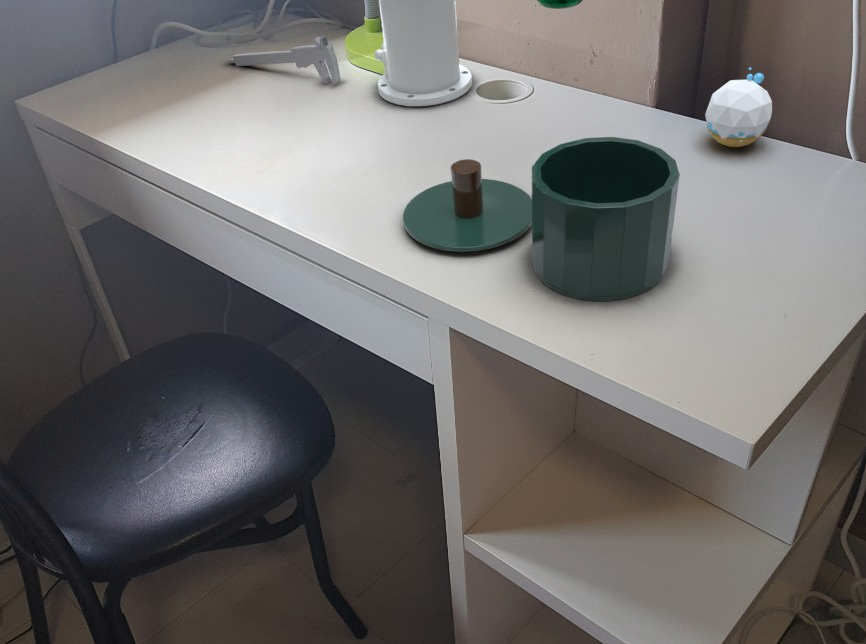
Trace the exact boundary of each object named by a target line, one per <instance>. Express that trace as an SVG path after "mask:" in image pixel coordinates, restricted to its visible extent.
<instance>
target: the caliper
mask: <svg viewBox="0 0 866 644" xmlns="http://www.w3.org/2000/svg"><path fill="white" fill-rule="evenodd" d="M326 36H327V35H324V36H322V37H320V36H317V37H315V38H313V41H314V44H308V45H298V46H297V45H296V46H294V47H292V48H290V49H288V50H287V49H286V50H273V51H257V52H245V53H236V54H234V55H233V56H232V58H231V59H228V63H229V64H234V65H235V66H236V67H246V66H247V67H249V66H261V65H262V66H263V65H275V64H276V65H277V64H295V66H296V68H297V69H301V68H305V69H306V68H308V67H311V65H313V66H314V68H315V70H316V71H317V73H318V75H319V76H320V78H321V80H322V81H323V83H324V84H325V85H328V84H330V83H331V82H332V83H333V84H336V83H338V82H340V81H341V74H340V68H339V62H338V61H339V60H338V57H337V54H336V52H335V50H334V47H333V45H332V44H331V43H329V42H328V40H327V37H326Z"/></svg>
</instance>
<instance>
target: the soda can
mask: <svg viewBox="0 0 866 644" xmlns="http://www.w3.org/2000/svg"><path fill="white" fill-rule="evenodd" d="M536 1H537V2H538V4H539V5H540V6H542V7H544V8H548V9H553V10H555V9H556V10H560V9H569V8H573V7H576V6H578V5H579V4H581V3H582V2H583V1H584V0H536Z"/></svg>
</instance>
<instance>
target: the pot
mask: <svg viewBox="0 0 866 644" xmlns="http://www.w3.org/2000/svg"><path fill="white" fill-rule="evenodd" d="M679 183H680V172H679V168H678V164H677V161H676V159H675V158H673V157H672V156H671V155H670V154H668V153H667V152H666V151H665V150H663V149H662V148H660V147H657V146H654V145H652V144H649V143H647V142H644V141H641V140H638V139H631V138H625V137H616V136H603V137H602V136H600V137H585V138H579V139H576V140H571V141H567V142H563V143H560V144H558V145H556V146H554V147H552V148H550V149H548V150H546V151H545V152H542V153H541V154H540V156H539V157H538V158H537V159H536V160H535V162H534V163H533V164H532V165H531V199H532V225H531V257H532V258H531V261H532V264H531V265H532V269H533V272H534V274H535V276H536V278H537V279H538V280H539V281H540V282H542V284H543V285H545V287H547V288H549V289H550V290H552V291H554V292H556V293H558V294H560V295H563V296H566V297H568V298H573V299H577V300H583V301H591V302H608V301H609V302H610V301H611V302H612V301H619V300H625V299H629V298H632V297H636V296H638V295H641V294H643V293H645V292H647V291H649V290H650V289H652V288H653V287H655V286H656V285H657V284H658V283H660V281H661V280H662V279H663V278H664V276H665V274H666V271H667V269H668V268H667V267H668V264H669V262H670V255H671V247H672V238H673V229H674V222H675V215H676V206H677V200H678V199H677V198H678V191H679Z"/></svg>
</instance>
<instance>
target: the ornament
mask: <svg viewBox="0 0 866 644" xmlns="http://www.w3.org/2000/svg"><path fill="white" fill-rule="evenodd" d="M747 69H748V70H747V71H752V69H753V68H752V67H751V66H749V67H748V68H747ZM764 80H765V76H764V74H763V73H762V72H757V73H755V74H754V75H753V73H748V74H747V75H746V79H732V80H731V79H730V80H729V81H728V82H726V83H725V84H724V85H722V86H721V87H719V88H718V89H717V90H716V91H714V92H713V93H712V94H711V97H710V100H709V103H708V105H707V109H706V111H705V113H704V116H705V121H706V128H707V130H708V133H709V134H710V136H711V137H712V138H713V140H715V141H716V142H717V143H718V144H721V145H723V146H725V147H728V148H741V147H745V146H748V145H751V144H753V143H754V142H755V141H757V140H758V139H760V138H761V137H762V136H763V135H764V134H765V132H766V131H767V128H768V126H769V123H770V121H771V118H772V114H773V100H772V99H771V96H770V94H769V91H768V90H766V89H765V88H763V87H762V86H760V84H762V82H764Z"/></svg>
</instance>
